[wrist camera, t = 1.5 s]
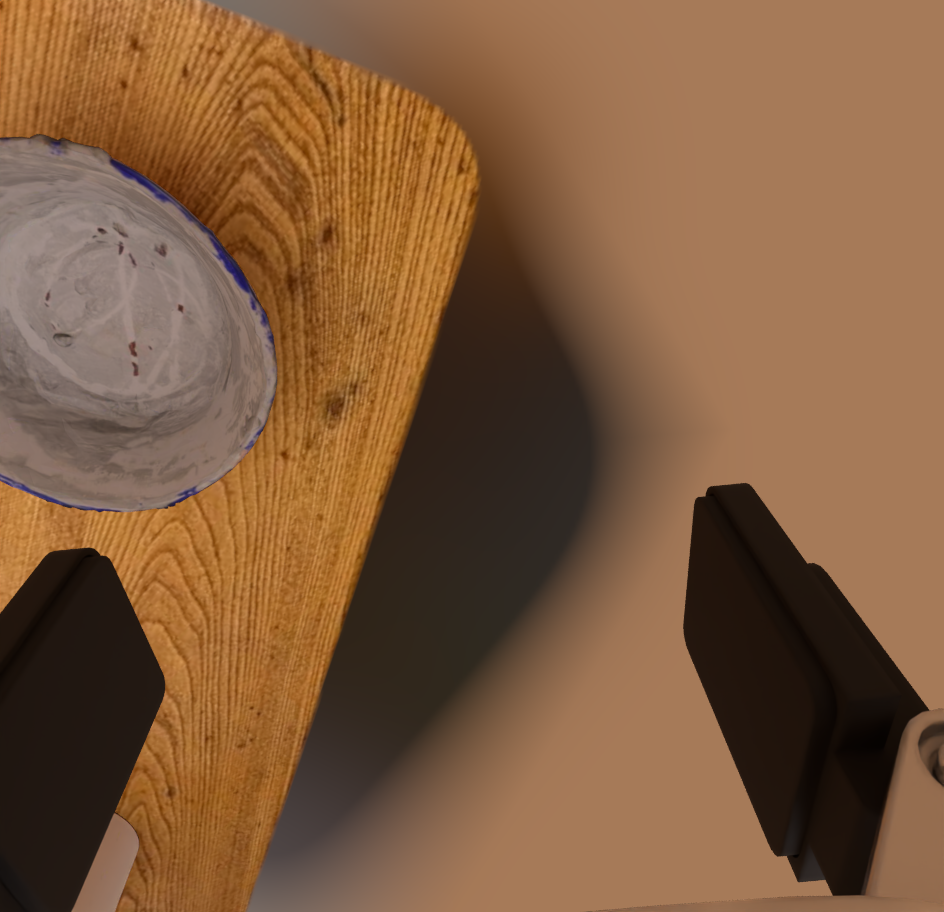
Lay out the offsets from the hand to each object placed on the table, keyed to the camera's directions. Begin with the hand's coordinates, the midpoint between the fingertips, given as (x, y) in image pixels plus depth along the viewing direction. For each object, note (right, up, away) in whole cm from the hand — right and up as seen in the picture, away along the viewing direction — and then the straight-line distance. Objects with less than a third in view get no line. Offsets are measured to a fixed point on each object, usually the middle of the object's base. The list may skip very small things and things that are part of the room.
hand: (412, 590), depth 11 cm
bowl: (-13, +8, +16) cm, 22 cm away
